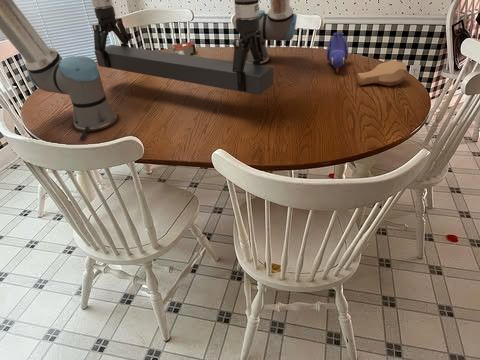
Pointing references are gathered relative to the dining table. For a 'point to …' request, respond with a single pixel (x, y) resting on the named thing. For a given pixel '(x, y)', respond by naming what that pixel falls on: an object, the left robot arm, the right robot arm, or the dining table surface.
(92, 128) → the left robot arm
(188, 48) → the tape dispenser
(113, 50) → the slab
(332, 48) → the toy
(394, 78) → the squash
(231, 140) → the dining table surface
